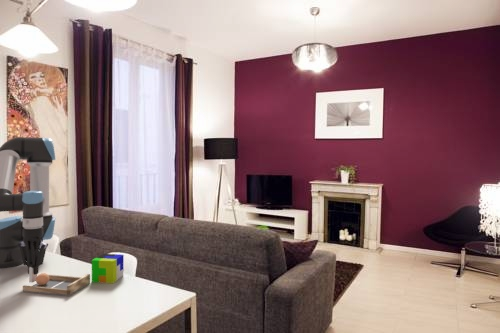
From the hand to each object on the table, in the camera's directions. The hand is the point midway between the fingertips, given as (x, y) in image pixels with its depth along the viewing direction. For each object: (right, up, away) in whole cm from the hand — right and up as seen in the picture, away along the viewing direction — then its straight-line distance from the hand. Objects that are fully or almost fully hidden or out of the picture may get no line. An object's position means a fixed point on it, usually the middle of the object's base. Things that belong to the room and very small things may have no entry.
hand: (33, 281), depth 152 cm
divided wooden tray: (+11, -2, -1) cm, 12 cm away
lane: (+11, -2, -1) cm, 12 cm away
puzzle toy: (+28, -2, +10) cm, 30 cm away
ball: (+4, +1, -1) cm, 5 cm away
